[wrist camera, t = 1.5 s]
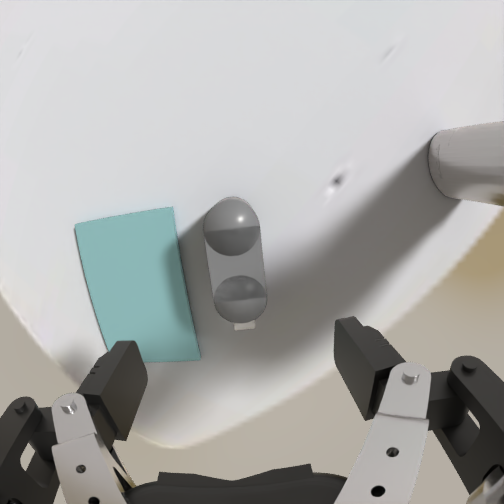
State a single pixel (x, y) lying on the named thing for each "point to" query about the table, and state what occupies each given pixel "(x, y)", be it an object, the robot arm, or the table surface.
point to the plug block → (235, 261)
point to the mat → (139, 283)
